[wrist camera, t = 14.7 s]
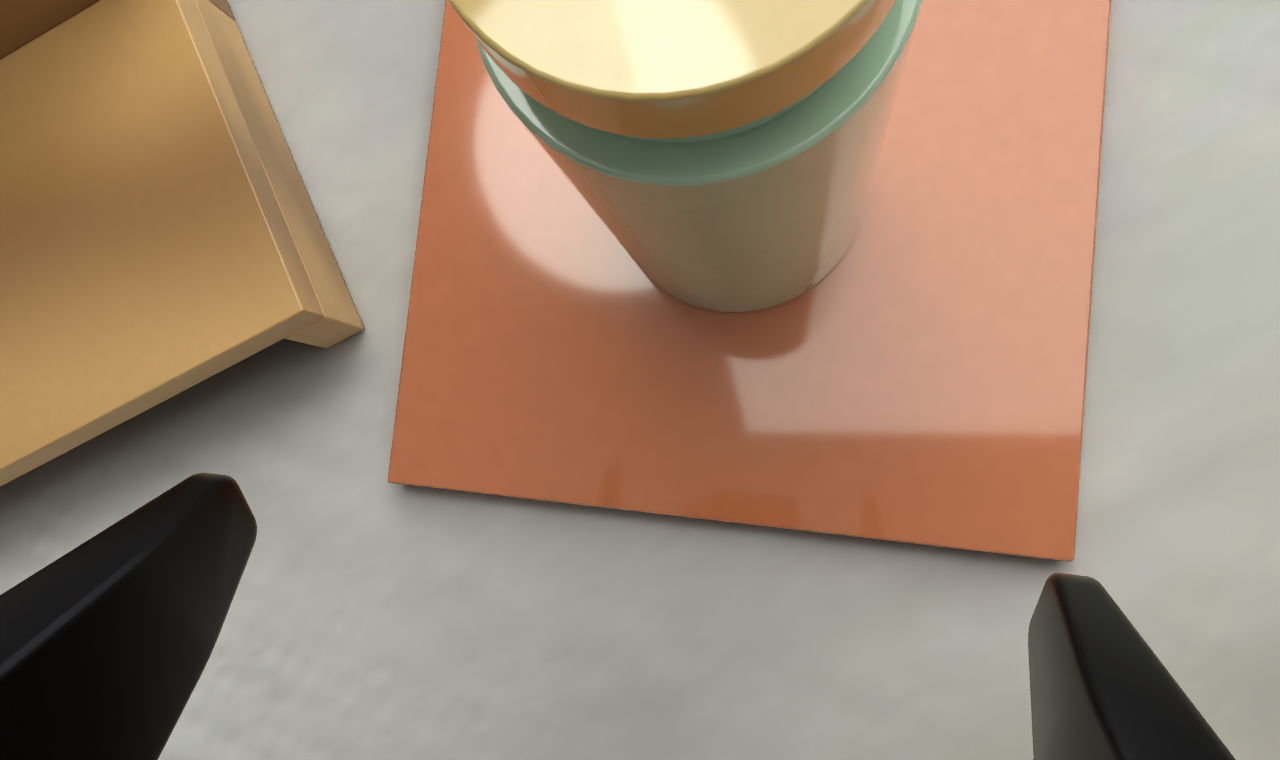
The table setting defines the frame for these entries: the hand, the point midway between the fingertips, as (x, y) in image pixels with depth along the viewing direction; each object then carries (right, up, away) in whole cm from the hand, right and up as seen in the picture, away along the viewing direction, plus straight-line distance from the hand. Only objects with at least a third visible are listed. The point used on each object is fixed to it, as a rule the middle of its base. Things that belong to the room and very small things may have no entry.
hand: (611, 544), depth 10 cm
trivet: (+3, +6, +12) cm, 14 cm away
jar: (+3, +6, +12) cm, 13 cm away
